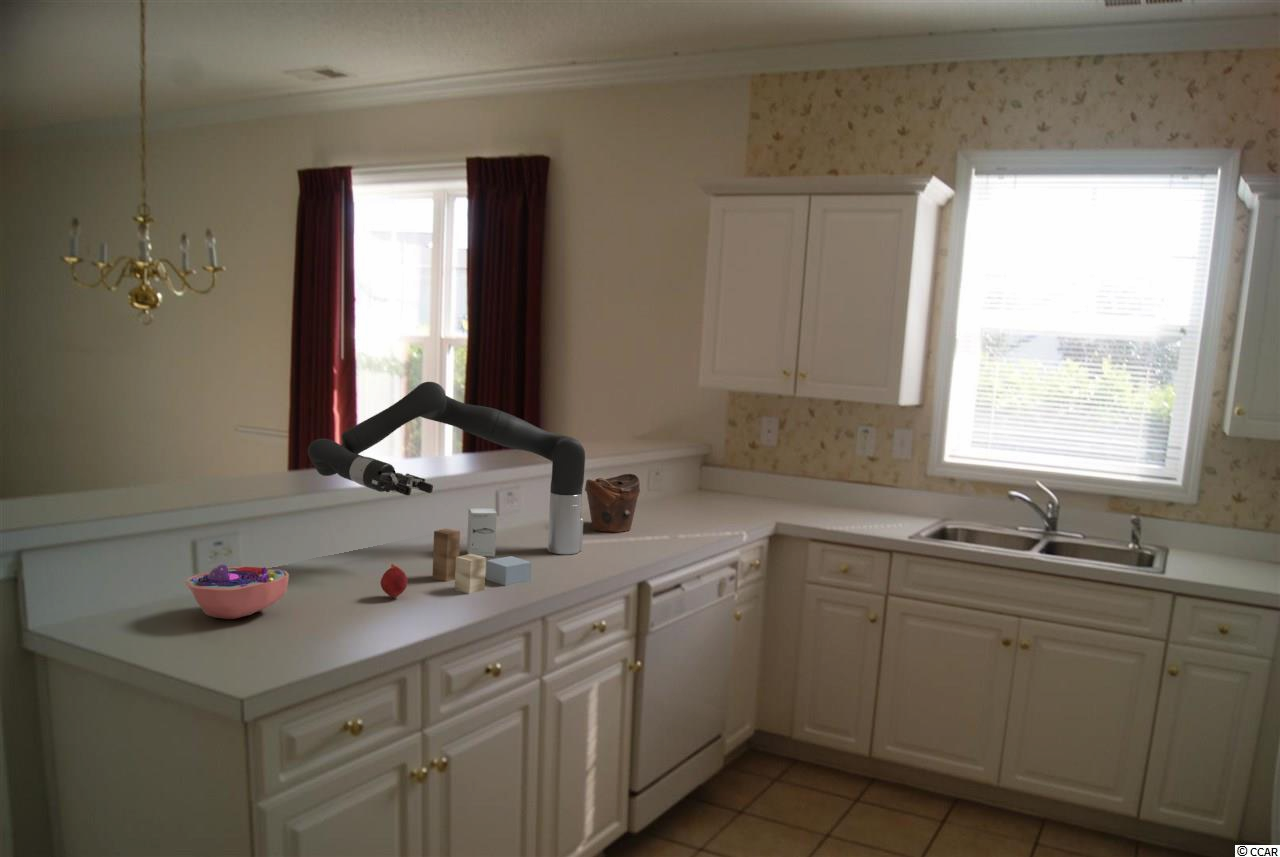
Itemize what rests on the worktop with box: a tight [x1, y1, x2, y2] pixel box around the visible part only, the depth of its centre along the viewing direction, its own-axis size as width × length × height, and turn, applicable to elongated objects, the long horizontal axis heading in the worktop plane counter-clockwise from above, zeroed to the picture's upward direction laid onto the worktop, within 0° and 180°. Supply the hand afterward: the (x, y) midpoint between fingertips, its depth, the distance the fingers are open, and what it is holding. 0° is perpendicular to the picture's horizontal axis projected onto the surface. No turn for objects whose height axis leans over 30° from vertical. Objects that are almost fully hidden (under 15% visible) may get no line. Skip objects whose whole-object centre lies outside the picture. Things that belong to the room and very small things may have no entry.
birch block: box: [454, 553, 487, 595], centre depth 211 cm, size 5×5×8 cm
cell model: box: [183, 563, 290, 620], centre depth 182 cm, size 17×20×11 cm
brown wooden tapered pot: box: [584, 473, 641, 533], centre depth 290 cm, size 18×20×18 cm
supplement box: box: [466, 507, 498, 557], centre depth 246 cm, size 7×7×13 cm
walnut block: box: [432, 527, 461, 582], centre depth 220 cm, size 4×4×12 cm
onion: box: [380, 563, 408, 599], centre depth 201 cm, size 6×6×8 cm
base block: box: [485, 555, 532, 587], centre depth 221 cm, size 8×8×5 cm
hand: (421, 490), depth 221 cm, fingers open, 8 cm apart
